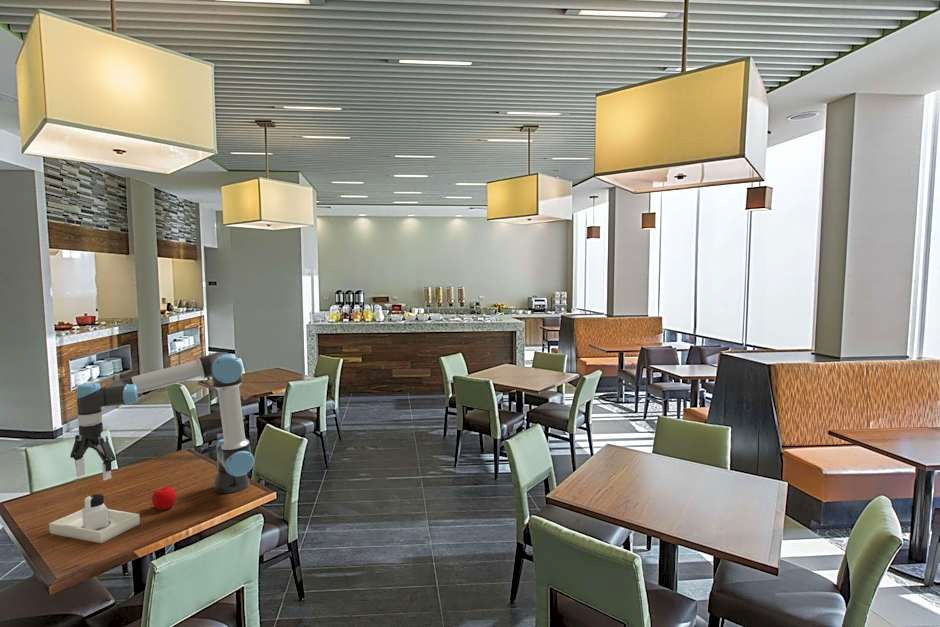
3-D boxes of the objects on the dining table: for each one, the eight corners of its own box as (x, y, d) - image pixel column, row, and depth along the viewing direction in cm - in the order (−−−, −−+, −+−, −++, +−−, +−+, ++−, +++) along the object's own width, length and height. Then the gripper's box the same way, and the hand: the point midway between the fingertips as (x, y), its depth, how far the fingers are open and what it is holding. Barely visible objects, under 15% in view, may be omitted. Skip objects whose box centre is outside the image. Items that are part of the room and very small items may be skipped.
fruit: (154, 505, 226) (153, 482, 225) (177, 501, 229) (177, 479, 228) (150, 514, 217) (149, 490, 216) (175, 510, 221) (174, 487, 220)
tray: (139, 524, 208) (139, 514, 208) (101, 543, 193) (100, 532, 193) (90, 515, 216) (90, 506, 216) (49, 533, 201) (49, 523, 200)
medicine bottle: (104, 520, 209) (103, 490, 209) (108, 526, 204) (107, 496, 204) (82, 526, 204) (81, 496, 204) (86, 532, 199) (84, 501, 199)
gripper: (124, 423, 202) (127, 476, 203) (76, 418, 209) (79, 470, 210) (105, 428, 195) (109, 484, 196) (56, 423, 202) (60, 477, 203)
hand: (94, 477), depth 203 cm, fingers open, 13 cm apart
